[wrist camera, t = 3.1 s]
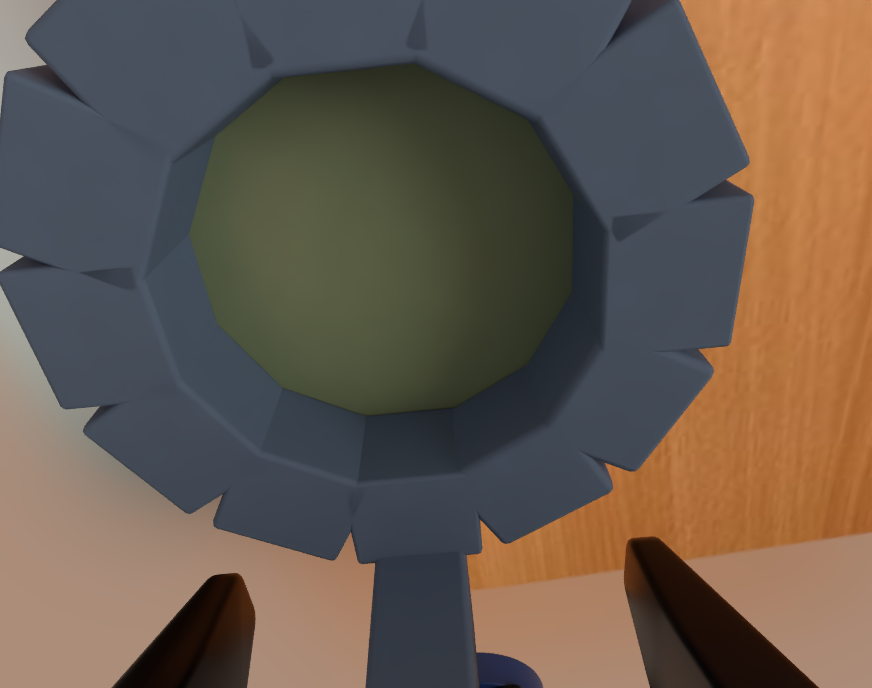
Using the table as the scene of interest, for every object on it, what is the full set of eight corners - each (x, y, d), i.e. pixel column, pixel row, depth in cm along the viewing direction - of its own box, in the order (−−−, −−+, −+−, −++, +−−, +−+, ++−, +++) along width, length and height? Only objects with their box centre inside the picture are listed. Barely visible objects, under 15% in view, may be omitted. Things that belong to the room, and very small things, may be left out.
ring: (-57, -66, 5) (-1114, -215, 1) (734, -159, 5) (1527, -559, 1) (240, 645, 9) (140, 1001, 6) (645, 611, 9) (775, 957, 6)
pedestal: (514, 158, 18) (656, 392, 7) (354, 207, 18) (264, 490, 8) (470, -34, 15) (586, -116, 5) (287, 29, 16) (26, 85, 5)
